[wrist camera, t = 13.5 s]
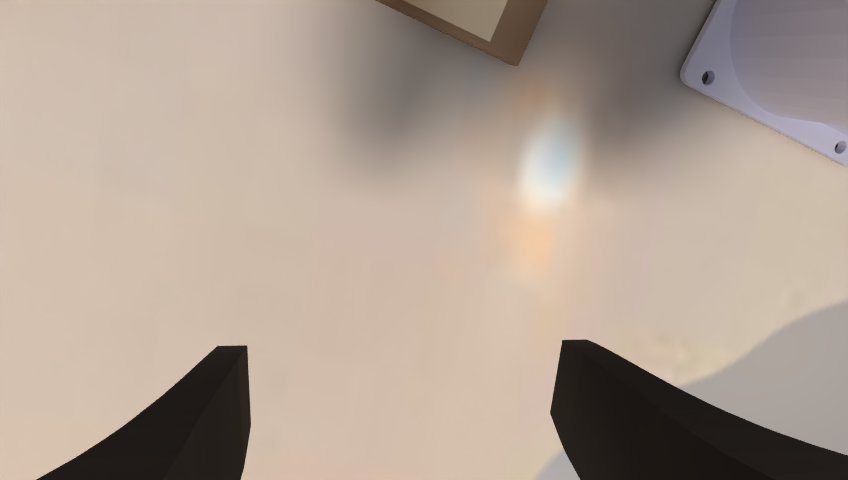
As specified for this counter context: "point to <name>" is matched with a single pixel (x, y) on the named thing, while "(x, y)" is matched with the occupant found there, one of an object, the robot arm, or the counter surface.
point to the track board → (479, 22)
